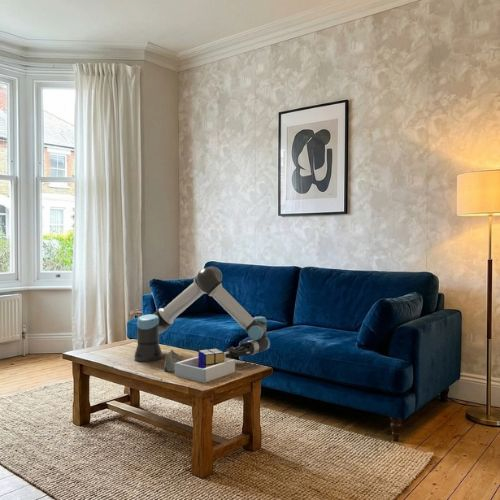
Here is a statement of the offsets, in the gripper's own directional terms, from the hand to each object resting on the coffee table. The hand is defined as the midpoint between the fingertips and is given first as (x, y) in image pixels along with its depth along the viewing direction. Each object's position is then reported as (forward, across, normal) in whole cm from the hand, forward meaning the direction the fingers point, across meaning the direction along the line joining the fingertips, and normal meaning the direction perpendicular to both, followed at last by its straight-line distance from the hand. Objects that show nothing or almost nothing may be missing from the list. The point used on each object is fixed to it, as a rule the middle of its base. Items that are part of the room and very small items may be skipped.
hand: (220, 356), depth 247 cm
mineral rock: (+13, +20, -7) cm, 25 cm away
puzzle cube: (+6, +1, -7) cm, 9 cm away
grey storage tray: (+10, +1, -6) cm, 12 cm away
